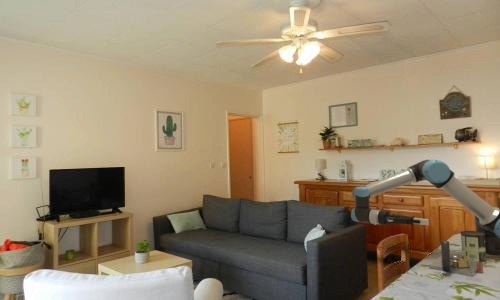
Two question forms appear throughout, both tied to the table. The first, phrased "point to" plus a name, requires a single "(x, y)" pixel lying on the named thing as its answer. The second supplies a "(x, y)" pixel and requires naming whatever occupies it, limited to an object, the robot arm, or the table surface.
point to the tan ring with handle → (450, 264)
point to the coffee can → (473, 245)
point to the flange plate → (467, 271)
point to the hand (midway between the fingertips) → (428, 222)
